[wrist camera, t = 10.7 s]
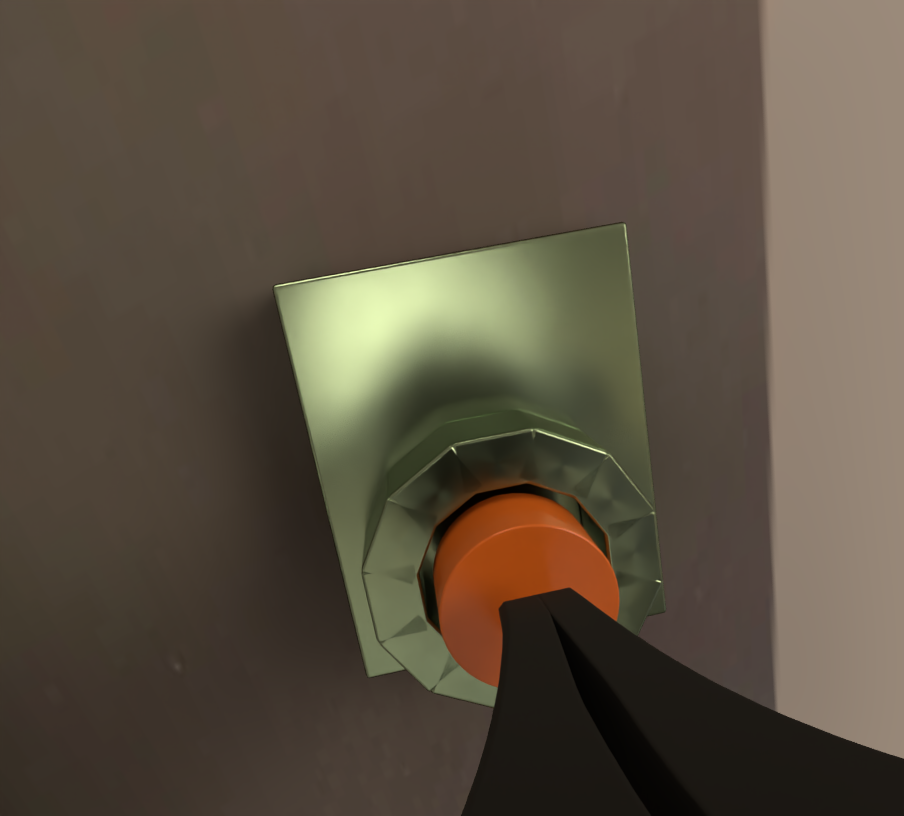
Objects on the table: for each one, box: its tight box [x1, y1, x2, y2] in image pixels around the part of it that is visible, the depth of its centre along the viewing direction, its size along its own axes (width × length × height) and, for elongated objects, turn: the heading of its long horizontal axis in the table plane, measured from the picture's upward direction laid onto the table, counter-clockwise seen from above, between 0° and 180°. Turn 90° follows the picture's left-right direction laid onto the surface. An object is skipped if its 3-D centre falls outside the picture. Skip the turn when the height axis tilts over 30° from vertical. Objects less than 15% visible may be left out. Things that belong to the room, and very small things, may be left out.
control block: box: [272, 222, 666, 708], centre depth 14 cm, size 10×8×4 cm
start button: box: [433, 493, 619, 687], centre depth 12 cm, size 4×4×2 cm
